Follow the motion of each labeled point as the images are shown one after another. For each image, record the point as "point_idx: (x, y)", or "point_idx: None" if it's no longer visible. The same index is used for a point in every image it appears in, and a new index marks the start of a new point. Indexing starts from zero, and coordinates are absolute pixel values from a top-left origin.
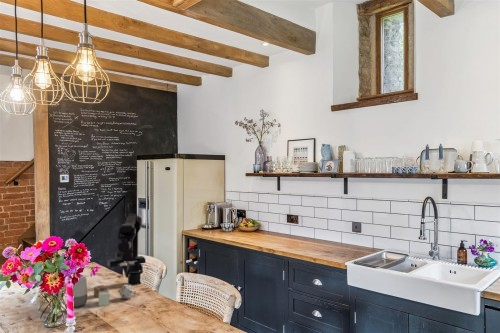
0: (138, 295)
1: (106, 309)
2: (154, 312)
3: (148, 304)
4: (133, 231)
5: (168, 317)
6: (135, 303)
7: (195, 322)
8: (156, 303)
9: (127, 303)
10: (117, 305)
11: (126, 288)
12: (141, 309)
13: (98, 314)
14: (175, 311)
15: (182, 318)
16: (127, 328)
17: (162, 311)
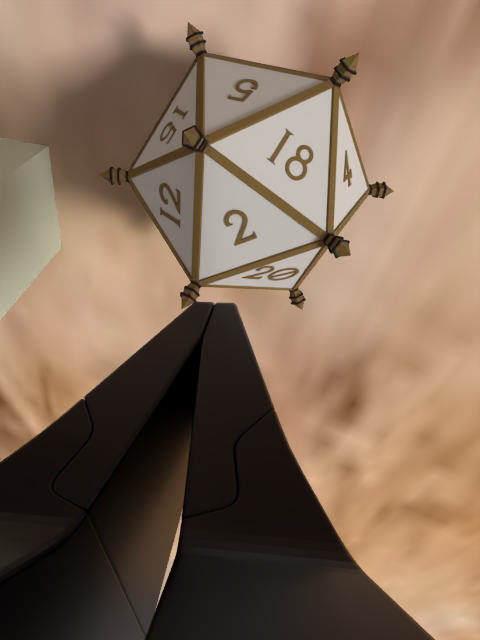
0: (457, 77)
1: (48, 329)
2: (358, 503)
3: (396, 391)
4: None
5: (389, 565)
6: (306, 323)
7: (460, 627)
8: (467, 403)
9: (236, 289)
10: (139, 291)
11: (225, 283)
12: (303, 440)
13: (2, 383)
14: (475, 540)
15: (441, 593)
16: (169, 558)
17: (409, 513)
